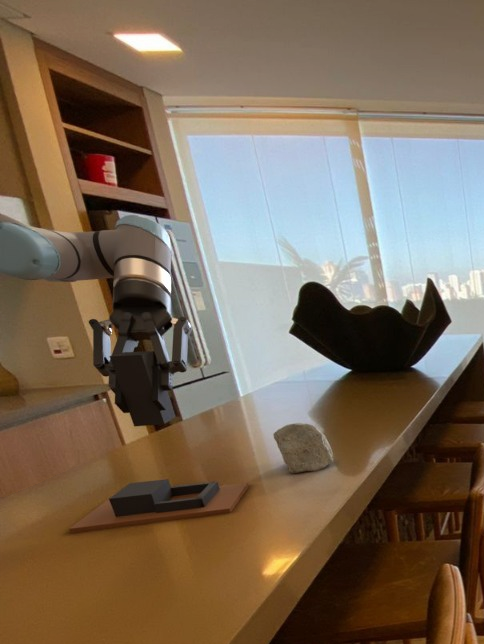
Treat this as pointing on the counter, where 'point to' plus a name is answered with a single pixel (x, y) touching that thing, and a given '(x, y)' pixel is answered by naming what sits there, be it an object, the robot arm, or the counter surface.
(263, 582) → the counter surface
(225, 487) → the dock mat
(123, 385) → the tall black block
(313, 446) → the decorative stone
